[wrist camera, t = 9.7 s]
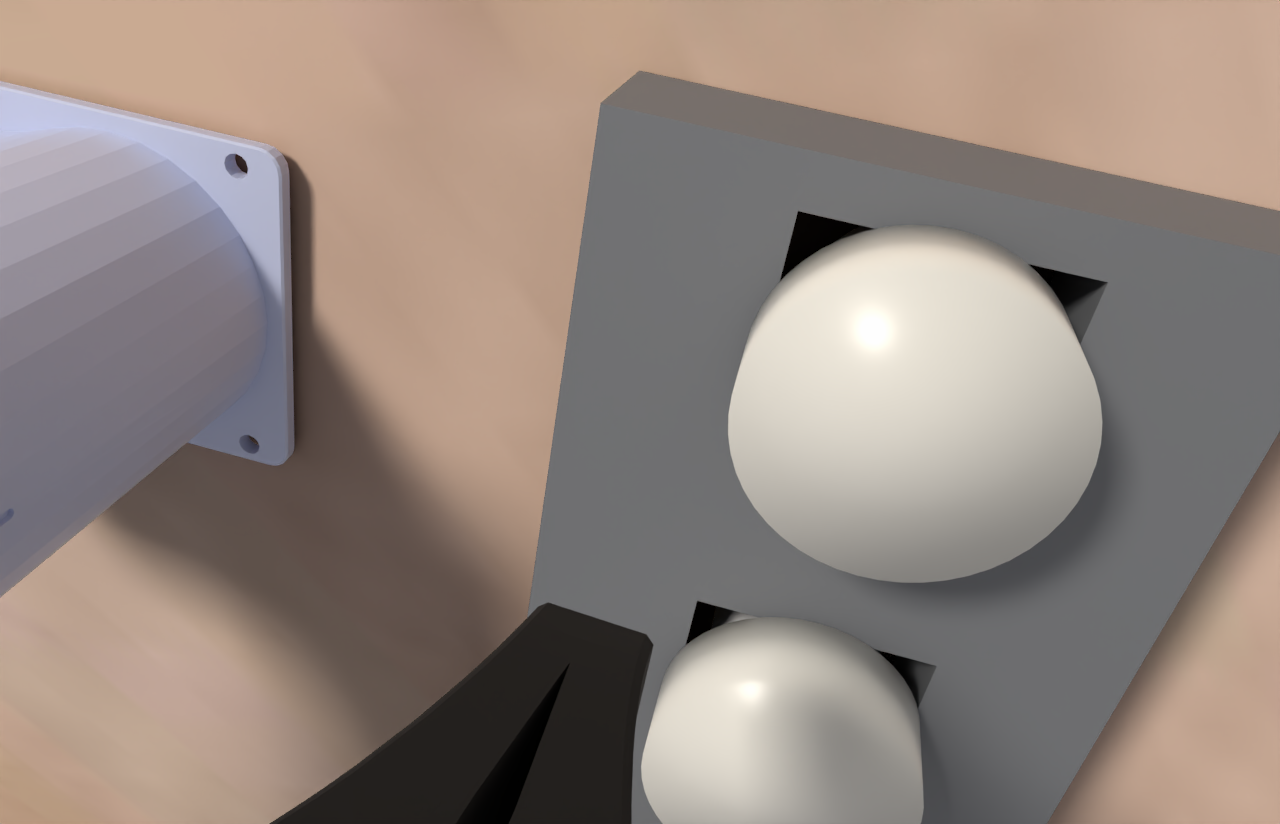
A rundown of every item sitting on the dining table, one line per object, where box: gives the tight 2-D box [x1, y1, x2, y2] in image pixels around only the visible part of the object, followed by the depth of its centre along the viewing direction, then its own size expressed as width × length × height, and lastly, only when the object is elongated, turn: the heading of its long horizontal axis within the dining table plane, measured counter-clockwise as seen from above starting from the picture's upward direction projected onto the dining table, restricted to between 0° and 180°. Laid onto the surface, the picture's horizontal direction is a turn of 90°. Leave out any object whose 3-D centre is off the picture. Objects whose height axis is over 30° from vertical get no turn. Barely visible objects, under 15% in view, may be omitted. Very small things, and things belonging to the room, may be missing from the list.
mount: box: [527, 71, 1280, 824], centre depth 23 cm, size 12×24×3 cm, turn 170°
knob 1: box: [728, 225, 1102, 583], centre depth 17 cm, size 6×6×5 cm
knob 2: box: [641, 606, 924, 824], centre depth 22 cm, size 6×6×5 cm
